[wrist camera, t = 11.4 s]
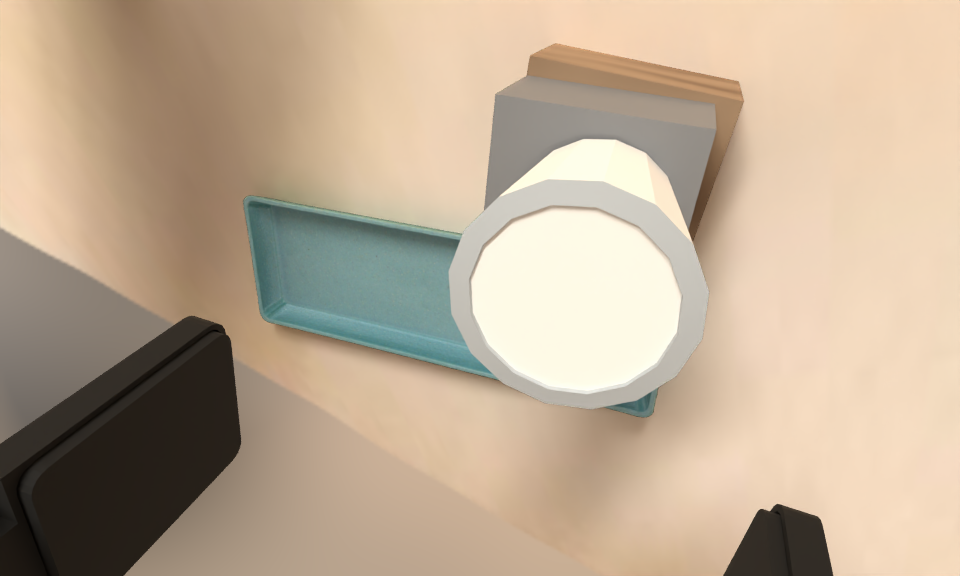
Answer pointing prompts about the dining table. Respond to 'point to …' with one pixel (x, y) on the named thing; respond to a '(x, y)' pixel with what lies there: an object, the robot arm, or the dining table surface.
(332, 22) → the dining table surface
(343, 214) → the teal serving tray
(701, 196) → the walnut base block
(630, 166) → the white cup
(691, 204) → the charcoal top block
